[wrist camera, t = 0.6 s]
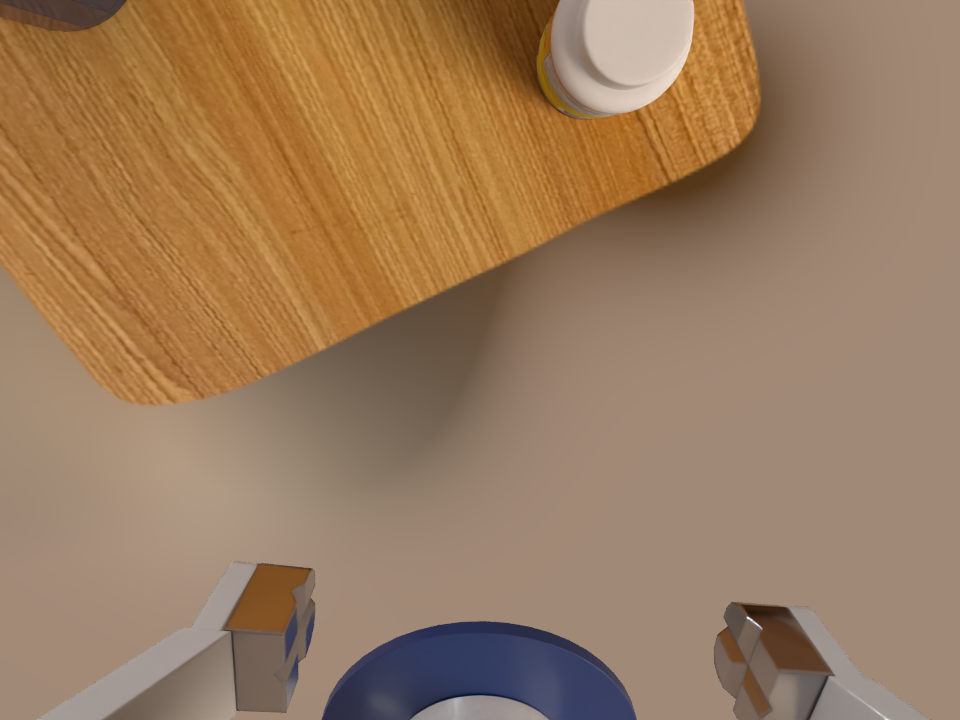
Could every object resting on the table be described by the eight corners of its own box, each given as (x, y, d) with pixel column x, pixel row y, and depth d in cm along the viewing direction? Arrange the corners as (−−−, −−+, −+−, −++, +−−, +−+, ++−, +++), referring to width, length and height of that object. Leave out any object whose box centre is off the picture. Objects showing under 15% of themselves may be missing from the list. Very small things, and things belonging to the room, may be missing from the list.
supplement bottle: (610, -24, 27) (681, -113, 18) (657, 82, 29) (743, 53, 20) (513, 42, 28) (531, -9, 19) (564, 141, 30) (604, 140, 21)
